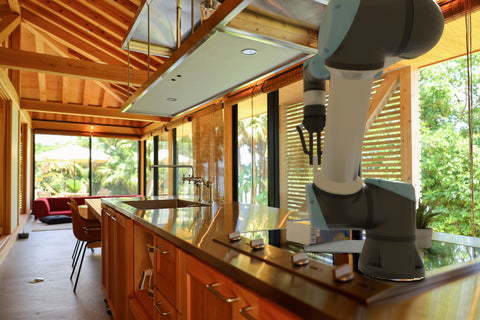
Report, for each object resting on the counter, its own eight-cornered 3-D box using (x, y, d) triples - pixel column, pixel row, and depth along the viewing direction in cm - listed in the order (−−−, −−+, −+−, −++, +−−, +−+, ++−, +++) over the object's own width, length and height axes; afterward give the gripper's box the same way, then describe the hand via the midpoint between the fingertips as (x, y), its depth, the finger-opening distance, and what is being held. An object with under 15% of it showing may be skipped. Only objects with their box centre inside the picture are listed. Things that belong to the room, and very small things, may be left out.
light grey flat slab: (378, 254, 102) (378, 252, 102) (304, 252, 105) (304, 250, 105) (364, 241, 120) (364, 240, 120) (301, 240, 122) (301, 238, 122)
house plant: (417, 253, 103) (417, 200, 103) (386, 243, 116) (386, 196, 117) (455, 250, 107) (454, 198, 107) (420, 241, 120) (420, 195, 121)
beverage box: (286, 239, 120) (327, 234, 133) (309, 245, 111) (350, 239, 124) (286, 220, 121) (327, 217, 134) (309, 224, 112) (350, 220, 125)
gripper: (332, 107, 117) (333, 175, 116) (294, 108, 119) (295, 175, 118) (336, 102, 110) (336, 175, 109) (295, 103, 111) (295, 175, 110)
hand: (315, 175), depth 113 cm, fingers closed
